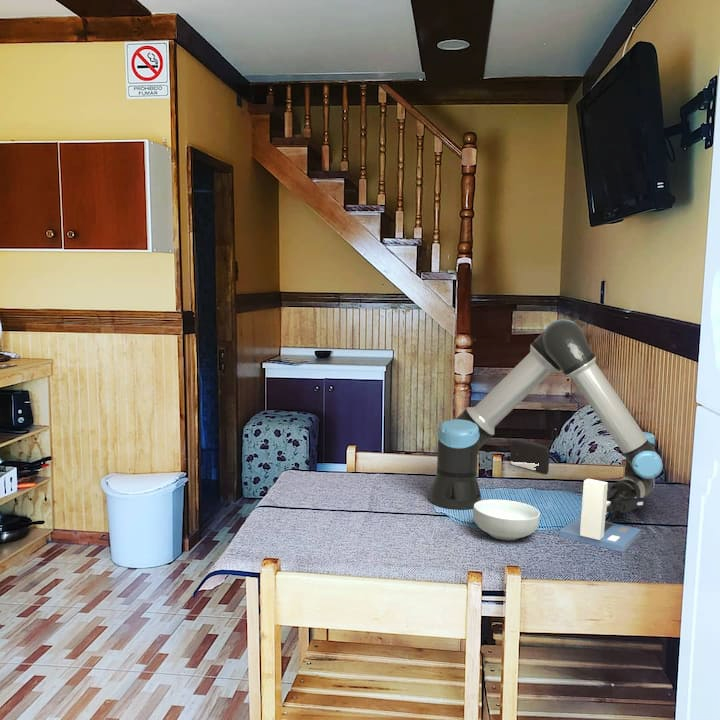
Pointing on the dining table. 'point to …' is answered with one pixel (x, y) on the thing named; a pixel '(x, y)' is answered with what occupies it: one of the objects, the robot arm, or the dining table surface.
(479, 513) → the cereal bowl
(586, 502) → the white upright block
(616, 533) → the switch board
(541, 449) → the leaning round-cornered charcoal block
